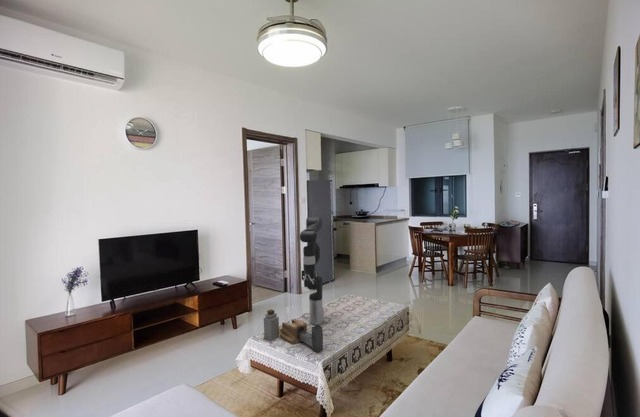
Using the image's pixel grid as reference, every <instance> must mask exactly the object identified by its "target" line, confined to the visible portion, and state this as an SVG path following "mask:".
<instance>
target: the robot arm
mask: <svg viewBox="0 0 640 417" xmlns="http://www.w3.org/2000/svg"><path fill="white" fill-rule="evenodd" d="M305 225H306V226H305V228H306V229H303V230H302V231H301V232H300V234H299V240H300V241H301V242H302V243H306V245H305V246H304V247H303V250H302V251H303V252H302V253H303V258H302V261H303V264H302V265H303V267H302V268H303V270H301V281H303V286H304V288H307V289H308V290H312V291H315V292H313V293H310V294H309V296H308V300H309V301H308V302H309V303H308V304H309V324H310V325H313V326H316V325H319V326H320V325H322V324H323V323H325V311H324V307H323V277H322V276H319V274H318V272H317V273H315V271H316V266H317V264H318V263H319V261H320V259H321V258H320V257H321V249H320V245H319V244H318V243H317V238H318V235H317V234H318V233H317V232H319V231H320V230H321V229H322V226H323V220H322V217H320V216H308V217H306V220H305Z"/></svg>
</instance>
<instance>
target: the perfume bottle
mask: <svg viewBox="0 0 640 417" xmlns="http://www.w3.org/2000/svg"><path fill="white" fill-rule="evenodd" d="M279 324H280V322H279V316H278V313H277V312H275V310H274V309H271V308H270V309H268V310H267V311H266V313H264V317H263V336H264V337H263V339H265V340H268V341H270V342H272V341H274V340H277V339H279V338H280V335H279V327H280V325H279Z"/></svg>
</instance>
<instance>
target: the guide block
mask: <svg viewBox="0 0 640 417" xmlns="http://www.w3.org/2000/svg"><path fill="white" fill-rule="evenodd" d="M307 325H308V324H307V322H305V321H302V320H298V319H295V318H293V319H291V323H287V322H285V321H283V322H281V326H282V334H279V338H280V339H282V340H283V341H285V342H286V343H288V344H290V345H294V344H297V343H299V342H302V341H301V340H299V339H298V338H297V328H301V329H303V330H305V331H307V332H308V326H307Z"/></svg>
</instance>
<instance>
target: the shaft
mask: <svg viewBox="0 0 640 417" xmlns="http://www.w3.org/2000/svg"><path fill="white" fill-rule="evenodd" d="M297 338H298V339H299V340H301V341H300V342H303V343H306V344H307V345H309V346H311V349H312V351H314V352H319V351H322V350H323V349H324V334H323V326H321V325H320V324H319V325H313V326H311V332H309V331H308V330H307V331H305V330H303V329H301V328H297Z"/></svg>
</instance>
